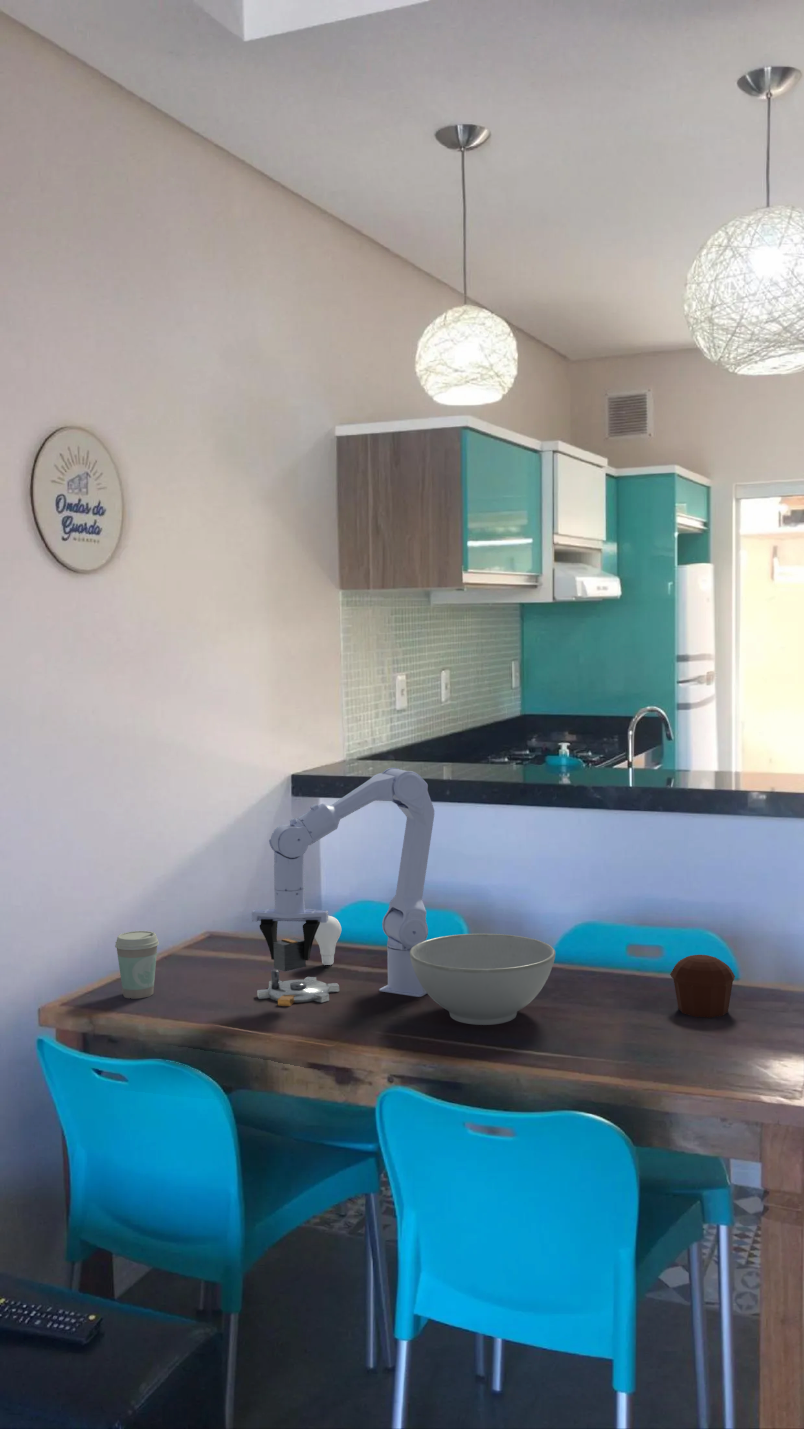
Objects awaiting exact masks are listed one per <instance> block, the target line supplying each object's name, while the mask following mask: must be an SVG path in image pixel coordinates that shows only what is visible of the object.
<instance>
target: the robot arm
mask: <svg viewBox="0 0 804 1429" xmlns="http://www.w3.org/2000/svg"><path fill="white" fill-rule="evenodd" d="M428 787H429V785H428V783H427V782H426V781H425V779H424V778H423V777H422V776H421V775H420V774H419V773H417V772H415V771H412V770H404V769H401V768H398V767H389V768H386V769H385V770H384V771H382V772H379V773H377V774H374V775H373V776H371V777H370V778H369V779H368V780H366V781H365V782H364V783H362V784H360V785H359V786H358V787H356V788H354V789H353V790H351V791H350V792H349V793H347V794H346V795H344V796H342V797H340V798H339V799H338V800H336V801H335V802H334V803H332V804H331V805H329V804H326V803H320V804H317V803H313V805H310V810H309V811H307V812H305V813H304V814H302V815H300V816H299V817H297V818H295V817H292V818H290V820H289V824H281V825H279V826H277V827H276V828H275V829H274V830H273V833H271V835H270V838H269V840H268V842H269V846H270V848H271V850H273V861H274V862H273V864H274V865H273V875H274V876H273V883H274V884H273V885H274V908H267V909H253V910H252V911H251V923H252V922H253V923H254V922H257V923H258V922H260V924H258V925H259V929H260V932H261V933H262V935H263V937H264V939H265V942H266V943H267V946H268V950H269V952H270V957H271V958H270V960H273V961H274V942H277V941H278V925H279V924H278V922H304V923H303V924H302V931H303V940H304V960H306V961H309V960H310V959H311V952H312V947H313V943H314V941H315V940H314V939H315V934H316V932H317V929H318V927H319V925H320V922H321V923H326V922H327V921H328V916H329V910H320V909H311V908H306V905H305V904H306V902H305V863H304V855H305V854H306V851H307V850H308V848H309V846H312V845H313V844H314V843H316V842H319V841H320V840H321V839H323V838H325V837H326V836H328V835H330V834H331V833H332V832H334V831H336V830H337V829H338V827H339V824H340V822H341V820H342V819H344V818H346V817H347V816H350V815H351V814H353V813H354V812H357V811H359V810H360V809H362V808H364V807H366V806H368V805H369V804H371V803H373V802H375V801H379V802H381V801H383V802H392V803H393V804H395V805H396V806H397V807H398V808H399V809H400V811H401V812H402V813H403V814H404V815H405V817H406V822H405V828H404V829H405V830H404V835H403V844H402V849H401V857H400V863H399V871H398V877H397V884H396V890H395V895H394V896H393V897H392V898H391V900H390V902H389V904H388V905H389V906H388V910H387V912H386V913H385V915H384V916H383V918H382V922H381V924H382V926H381V927H382V930H383V933H384V934H385V935H386V936H387V941H386V942H387V943H386V948H387V949H386V951H387V952H386V953H387V954H386V955H387V958H386V960H387V985H384V986H383V987H381V988H379V989H378V990H379V992H383V993H384V992H385V993H390V994H397V995H404V996H410V997H417V998H418V997H419V998H420V997H424V996H425V995H428V994H427V992H426V991H425V990H424V988H423V987H422V985H421V983H420V982H419V980H418V978H417V976H416V974H415V971H414V969H413V966H412V963H411V959H410V950H411V948H412V947H413V946H415V945H416V944H418V943H421V942H423V941H426V940H427V938H428V936H429V935H428V934H429V928H428V924H427V919H426V918H427V910H426V909H427V908H426V907H425V904H424V901H423V896H424V895H423V894H424V889H425V881H426V876H427V875H426V874H427V868H428V859H429V853H430V846H431V840H432V834H433V833H432V832H433V826H434V818H435V808H434V805H433V803H432V799H431V797H430V794H429V790H428Z"/></svg>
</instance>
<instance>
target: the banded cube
mask: <svg viewBox="0 0 804 1429" xmlns="http://www.w3.org/2000/svg"><path fill="white" fill-rule="evenodd" d="M306 961H307V960H304V939H301V938H296V937H291V938H288V937H287V938H282V939H281V940H277V942H274V960H273V969H274V970H279V971H282V972H288V971H292V970H298V969H302V968H305V967H306V965H307V964H306Z"/></svg>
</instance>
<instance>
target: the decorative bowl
mask: <svg viewBox="0 0 804 1429" xmlns="http://www.w3.org/2000/svg"><path fill="white" fill-rule="evenodd" d="M410 959H411V963H412V966H413V969H414V971H415V974H416V976H417V978H418V980H419V982H420V983H421V985H422V987H423V988H424V990H425V991H426V992H427V994H426V995H428V996H429V997H430V998H431V999H432V1000H433V1002H435V1003H436V1004H438V1005H439V1006H440V1007H441V1008H443V1009H445V1010H446V1011H448V1013H449V1017H450V1018H451V1019H452V1020H454V1021H456V1022H459V1023H462V1024H466V1025H467V1024H468V1025H474V1026H475V1025H476V1026H479V1025H480V1026H482V1025H483V1026H487V1025H488V1026H490V1025H491V1026H492V1025H499V1024H505V1023H508V1022H510V1021H513V1020H514V1019H515V1018H516V1017H517V1014H518V1011H520V1010H522V1009H524V1008H525V1007H526V1006H528V1005H529V1004H530V1003H531V1002H532V1001H534V999H535V998H536V997H537V996H539V993H540V992H541V991H542V990H543V987H544V986H545V984H547V983H546V982H547V981H548V979H549V977H550V974H551V971H552V969H553V966H554V964H555V963H554V962H555V959H556V950H555V948H554V947H552V945H550V944H548V943H547V942H544V941H541V940H538V939H535V938H531V937H526V936H521V935H514V934H513V935H511V934H504V933H503V934H501V933H463V934H452V935H451V934H450V935H444V936H439V937H434V938H431V939H430V938H429V939H426V940H425V941H423V942H421V943H418V944H416V945H415V946H413V947H412V948H411V950H410Z"/></svg>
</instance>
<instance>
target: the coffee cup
mask: <svg viewBox="0 0 804 1429" xmlns="http://www.w3.org/2000/svg"><path fill="white" fill-rule="evenodd" d="M159 944H160V942H159V939H158V936H157V934H156V932H153V931H151V930H150V931H148V930H135V931H133V930H132V931H128V932H122V933H120V934H119V935H117V937H116V941H115V945H114V947H115V948H116V953H117V954H116V955H117V960H118V966H119V973H120V975H119V976H120V980H121V988H122V989H121V990H122V995H123V997H124V998H126V999H130V998H131V1000H133V999H134V1000H137V999H145V998H149V997H151V996H152V995H153V994H154V988H155V978H156V967H157V966H156V965H157V954H158V946H159Z"/></svg>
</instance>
